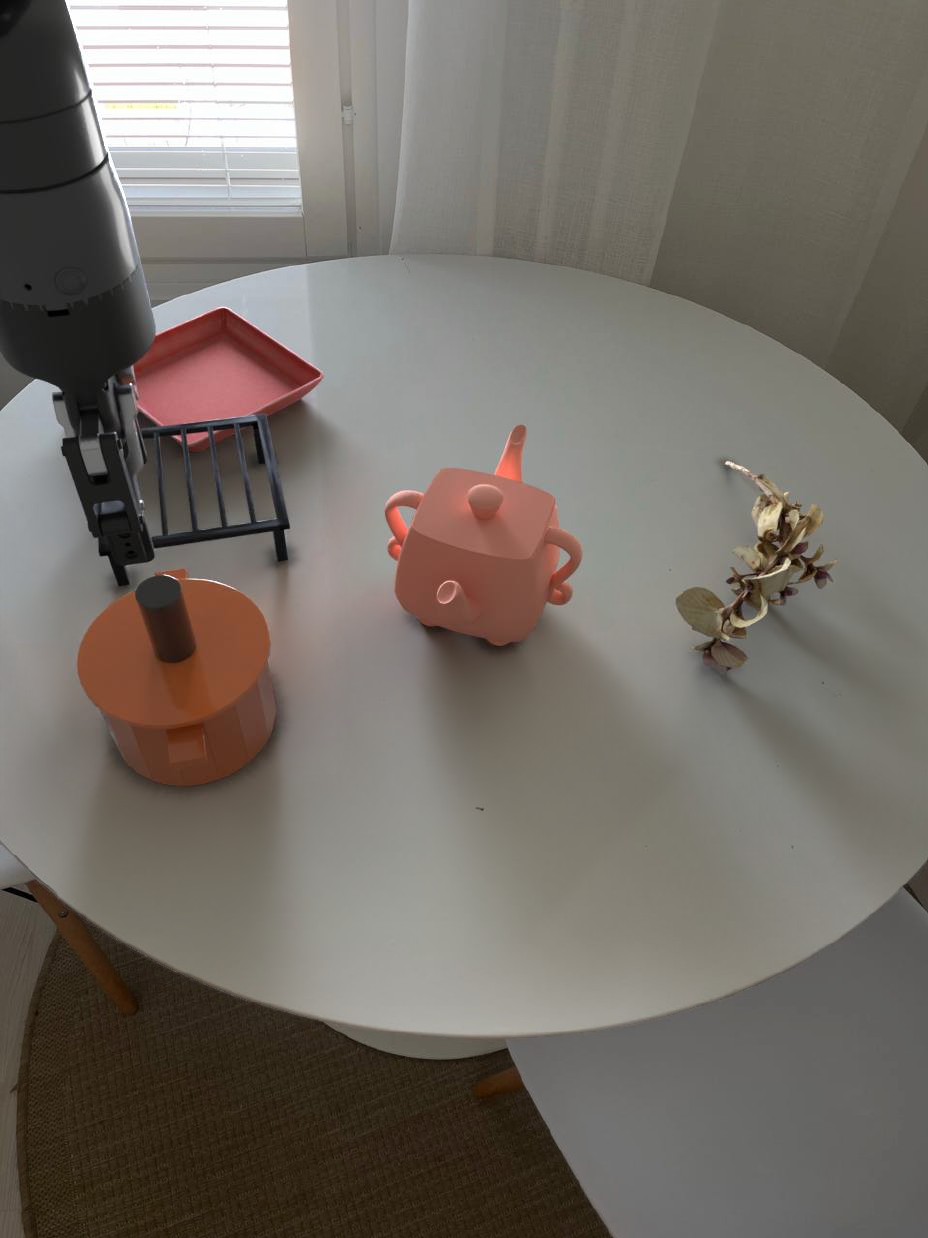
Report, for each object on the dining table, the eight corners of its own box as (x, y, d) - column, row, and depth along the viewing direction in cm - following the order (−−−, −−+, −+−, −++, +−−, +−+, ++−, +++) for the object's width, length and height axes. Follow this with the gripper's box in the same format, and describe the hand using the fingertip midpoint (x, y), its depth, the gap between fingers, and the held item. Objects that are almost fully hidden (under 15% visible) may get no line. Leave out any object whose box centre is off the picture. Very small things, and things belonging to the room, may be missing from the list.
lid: (81, 751, 60) (50, 689, 55) (80, 603, 69) (53, 536, 63) (283, 713, 63) (272, 650, 58) (259, 575, 71) (248, 509, 66)
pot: (118, 834, 65) (87, 773, 59) (112, 645, 76) (85, 576, 70) (291, 798, 68) (280, 736, 61) (261, 620, 79) (248, 551, 72)
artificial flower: (793, 498, 97) (827, 713, 76) (664, 467, 97) (662, 674, 76) (833, 423, 90) (882, 637, 70) (695, 391, 90) (702, 595, 69)
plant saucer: (329, 398, 99) (327, 372, 97) (192, 472, 90) (186, 446, 88) (228, 329, 107) (223, 303, 104) (91, 391, 98) (83, 365, 95)
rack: (112, 591, 80) (98, 552, 76) (108, 474, 90) (95, 433, 86) (294, 563, 83) (289, 524, 79) (271, 453, 93) (265, 413, 89)
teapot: (511, 520, 88) (524, 414, 79) (594, 644, 79) (621, 540, 69) (366, 561, 84) (361, 454, 74) (436, 697, 74) (441, 594, 65)
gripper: (-22, 191, 46) (68, 444, 58) (-44, 350, 37) (67, 607, 50) (131, 181, 48) (187, 429, 60) (144, 331, 39) (207, 585, 51)
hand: (133, 510), depth 55 cm, fingers open, 8 cm apart
